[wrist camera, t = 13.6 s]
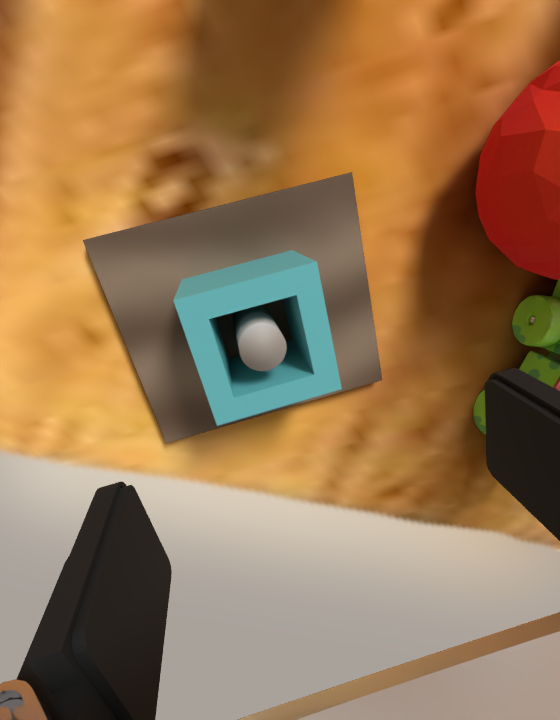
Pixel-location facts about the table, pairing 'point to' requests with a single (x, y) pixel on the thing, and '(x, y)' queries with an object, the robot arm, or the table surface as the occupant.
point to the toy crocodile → (534, 343)
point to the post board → (224, 246)
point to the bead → (304, 353)
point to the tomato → (525, 178)
